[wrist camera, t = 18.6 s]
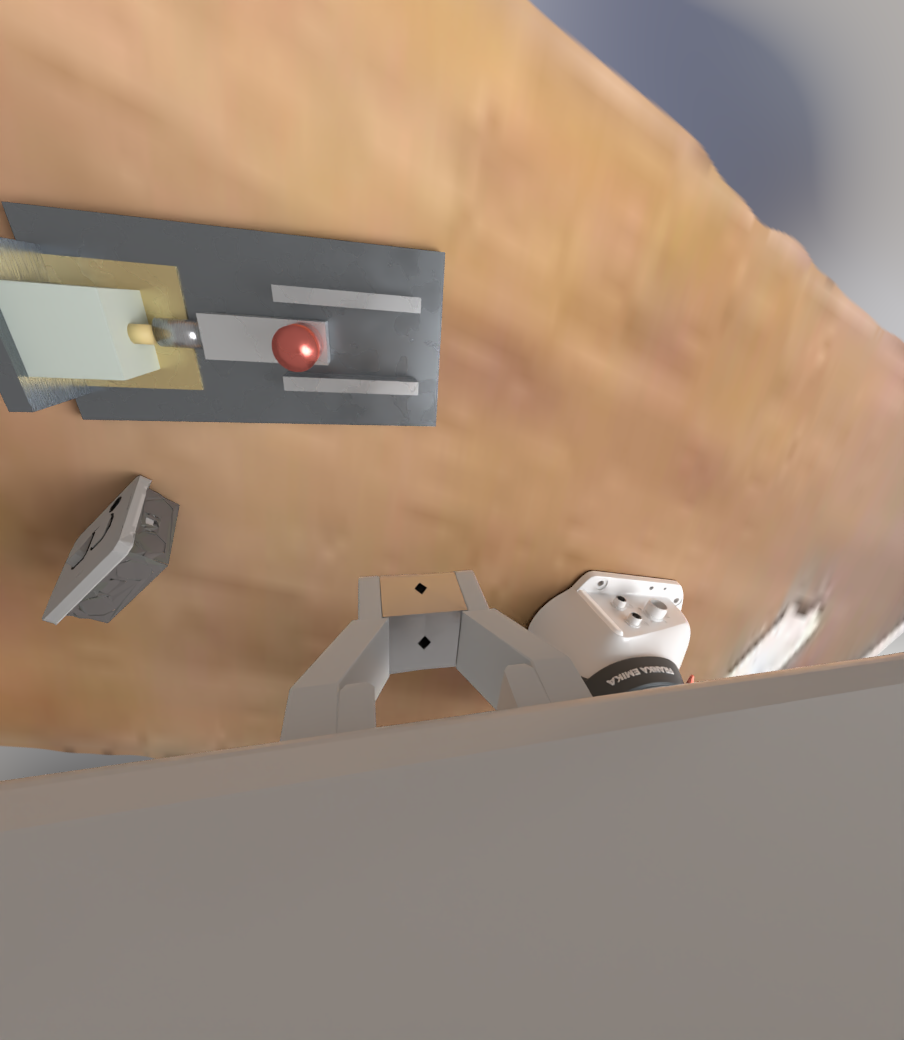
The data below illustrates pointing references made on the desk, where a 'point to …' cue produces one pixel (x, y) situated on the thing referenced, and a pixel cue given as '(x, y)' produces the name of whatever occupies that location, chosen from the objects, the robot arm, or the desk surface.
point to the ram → (249, 338)
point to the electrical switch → (115, 556)
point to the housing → (79, 330)
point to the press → (238, 290)
